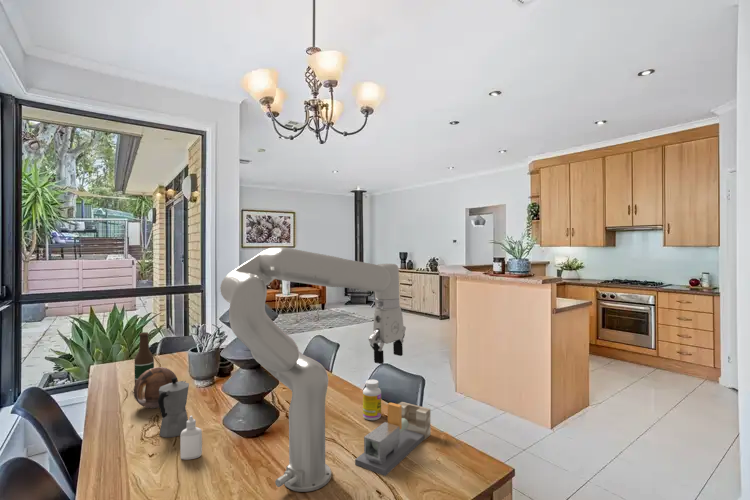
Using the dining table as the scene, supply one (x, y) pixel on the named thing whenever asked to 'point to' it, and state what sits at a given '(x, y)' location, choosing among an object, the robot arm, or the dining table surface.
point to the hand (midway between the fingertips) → (388, 359)
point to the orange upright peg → (395, 419)
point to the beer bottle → (143, 357)
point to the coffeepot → (173, 408)
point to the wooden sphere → (152, 386)
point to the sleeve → (382, 442)
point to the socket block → (417, 418)
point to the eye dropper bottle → (191, 441)
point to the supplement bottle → (372, 400)
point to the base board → (392, 459)
